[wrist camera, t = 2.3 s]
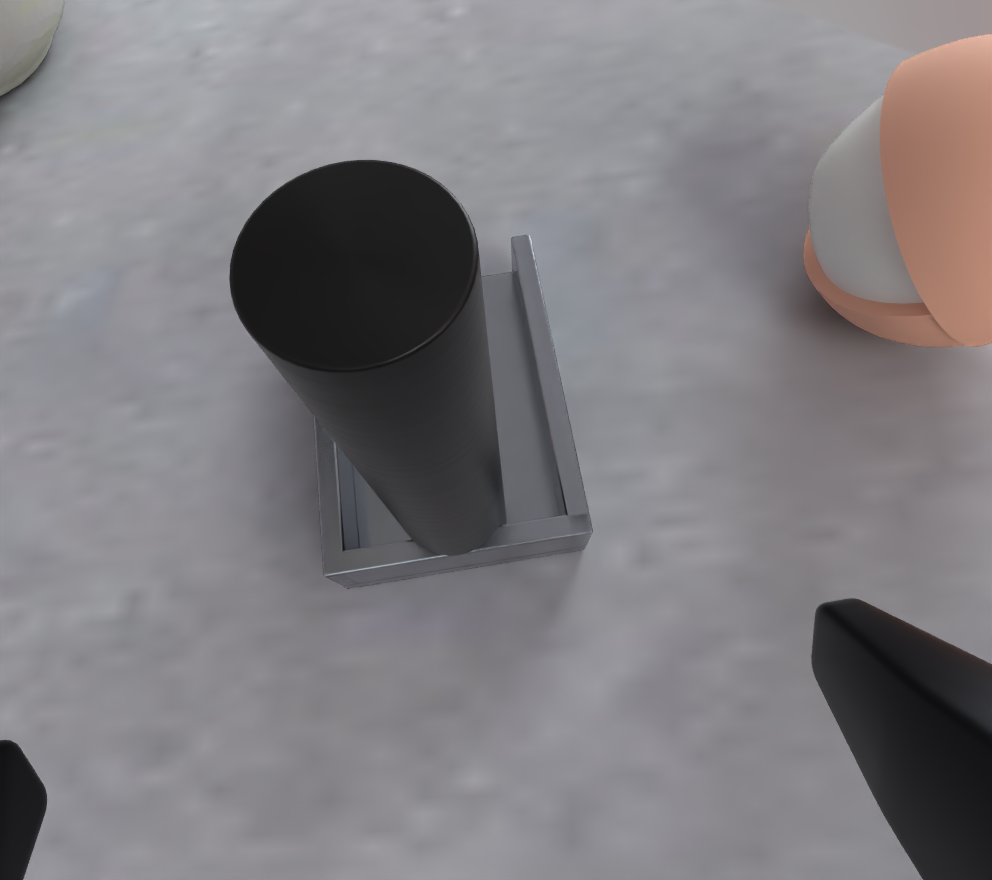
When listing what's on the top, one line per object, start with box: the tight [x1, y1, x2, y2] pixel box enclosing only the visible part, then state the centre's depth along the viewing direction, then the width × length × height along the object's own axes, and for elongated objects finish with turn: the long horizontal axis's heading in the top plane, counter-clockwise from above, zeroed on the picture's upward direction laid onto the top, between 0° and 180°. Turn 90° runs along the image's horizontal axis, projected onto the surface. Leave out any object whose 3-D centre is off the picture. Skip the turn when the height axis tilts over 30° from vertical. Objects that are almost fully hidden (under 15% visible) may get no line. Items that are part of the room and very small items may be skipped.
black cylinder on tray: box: [230, 160, 593, 589], centre depth 15 cm, size 9×7×13 cm
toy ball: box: [803, 34, 992, 347], centre depth 18 cm, size 8×8×8 cm
